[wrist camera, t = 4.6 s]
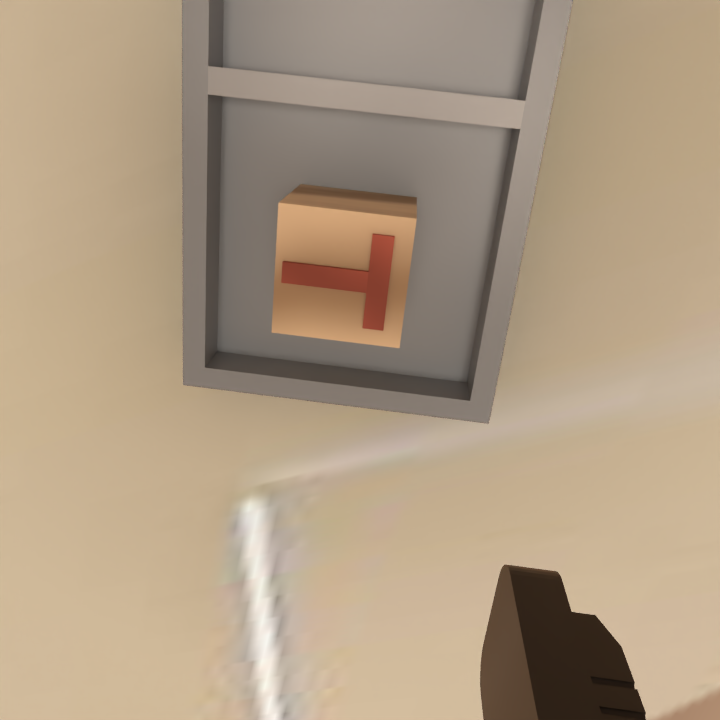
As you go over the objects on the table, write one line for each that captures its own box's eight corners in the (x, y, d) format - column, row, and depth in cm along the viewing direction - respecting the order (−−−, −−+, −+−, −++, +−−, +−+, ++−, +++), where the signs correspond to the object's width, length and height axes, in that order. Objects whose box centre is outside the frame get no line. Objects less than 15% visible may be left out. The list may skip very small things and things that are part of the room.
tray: (207, -329, 23) (181, -381, 20) (615, -293, 22) (640, -342, 20) (201, 361, 33) (182, 384, 30) (483, 397, 32) (488, 423, 30)
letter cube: (300, 183, 29) (277, 203, 24) (416, 197, 28) (416, 219, 24) (293, 295, 30) (270, 334, 26) (402, 308, 30) (399, 350, 25)
